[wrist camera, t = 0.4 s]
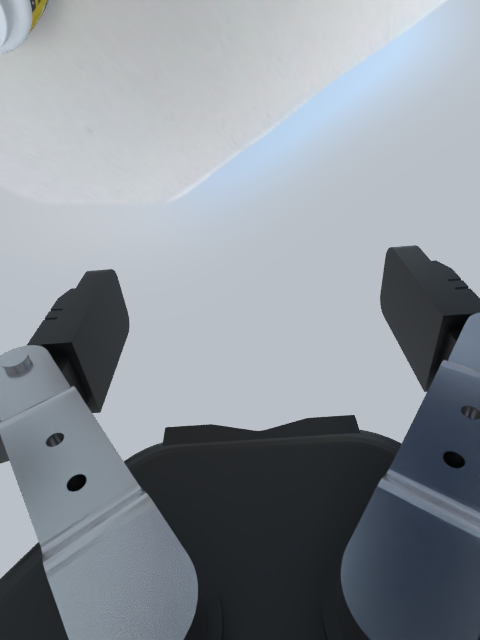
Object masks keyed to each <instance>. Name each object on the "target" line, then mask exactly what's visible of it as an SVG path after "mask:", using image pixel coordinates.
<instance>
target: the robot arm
mask: <svg viewBox="0 0 480 640" xmlns="http://www.w3.org/2000/svg"><path fill="white" fill-rule="evenodd" d="M380 301H381V309H382V313H383V315H384V317H385V319H386V321H387V323H388V325H389V327H390V328H391V330H392V332H393V334H394V336H395V338H396V340H397V341H398V343H399V345H400V347H401V349H402V351H403V353H404V355H405V356H406V358H407V360H408V362H409V363H410V366H411V368H412V369H413V371H414V373H415V375H416V377H417V379H418V381H419V382H420V384H421V386H422V388H423V390H424V392H427V393H426V396H425V398H424V400H423V402H422V404H421V406H420V408H419V410H418V412H417V414H416V416H415V418H414V420H413V422H412V424H411V426H410V428H409V430H408V432H407V434H406V436H405V438H404V440H403V442H402V444H401V443H399V442H397V441H395V440H393V439H390V438H388V437H385V436H382V435H379V434H376V433H373V432H368V431H363V430H359V428H358V424H357V421H356V418H355V416H354V415H348V416H333V417H317V418H306V419H303V420H299V421H296V422H292V423H289V424H286V425H282V426H278V427H274V428H271V429H268V430H263V431H252V430H246V429H238V428H232V427H225V426H218V425H212V424H211V425H197V426H180V427H167V428H165V434H164V440H163V443H160V444H156V445H154V446H151V447H149V448H146V449H144V450H143V451H140V452H139V453H137V454H135V455H133V456H132V457H130V458H129V459H127V460H125V461H124V462H123V460H122V459H121V457H120V455H119V454H118V452H117V451H116V449H115V448H114V446H113V445H112V443H111V442H110V440H109V439H108V437H107V436H106V434H105V432H104V431H103V429H102V428H101V426H100V425H99V423H98V422H97V420H96V419H95V417H94V415H93V414H92V413H99V412H101V409H102V406H103V403H104V401H105V398H106V395H107V392H108V389H109V386H110V383H111V381H112V378H113V375H114V372H115V369H116V367H117V364H118V361H119V358H120V355H121V352H122V349H123V346H124V344H125V341H126V338H127V335H128V332H129V316H128V312H127V308H126V305H125V301H124V298H123V295H122V291H121V288H120V284H119V281H118V277H117V275H116V273H115V271H114V270H112V269H109V270H98V271H87V272H86V273H85V275H84V276H83V278H82V279H81V281H80V282H79V284H78V286H77V287H76V288H75V289H70V290H69V291H67V292H66V293H65V294H63V295H62V296H61V297H59V298H58V299H57V301H56V302H55V304H54V305H53V307H52V308H51V311H50V312H49V313H48V315H47V316H46V317H45V320H43V322H42V323H41V325H40V326H39V328H38V329H37V331H36V332H35V334H34V335H33V337H32V338H31V340H30V341H29V343H28V344H27V346H23V347H18V348H15V349H12V350H10V351H8V352H5V353H4V354H2V355H0V463H3V462H6V461H9V460H10V463H11V466H12V468H13V471H14V474H15V476H16V480H17V482H18V485H19V488H20V491H21V493H22V496H23V499H24V502H25V505H26V507H27V510H28V513H29V516H30V519H31V521H32V524H33V527H34V529H35V532H36V535H37V538H38V541H39V542H38V543H37V544H36V545H35V546H34V547H33V548H32V549H31V550H30V551H29V552H28V553H27V554H26V555H25V556H24V557H23V558H22V559H20V561H18V562H17V563H16V564H15V565H14V566H13V567H12V568H11V569H10V570H9V571H8V572H7V573H6V574H5V575H4V576H3V577H2V578H1V579H0V640H480V298H478V296H477V295H476V294H475V293H474V292H473V291H472V290H471V289H468V286H467V285H466V283H465V282H464V281H461V278H460V277H459V276H458V275H457V274H456V273H455V272H454V271H453V270H452V269H451V268H449V267H448V266H445V265H444V264H442V263H440V262H437V261H431V260H430V259H429V258H428V257H427V256H426V255H425V254H424V253H423V251H422V250H421V249H420V248H419V247H418V246H403V247H391V248H389V249H388V251H387V253H386V258H385V265H384V273H383V280H382V288H381V295H380Z"/></svg>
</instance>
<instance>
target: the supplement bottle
mask: <svg viewBox="0 0 480 640" xmlns="http://www.w3.org/2000/svg"><path fill="white" fill-rule="evenodd" d="M47 1H48V0H0V53H5V52H9V51H12V50H14V49H15V48H17V47H18V46H19V45H21V44H22V42H23V41H24V40H25V39H26V38H27V36H28V35H29V33H30V32H31V30H32V29H33V27H34V26H35V24H36V23H37V21H38V20H39V18H40V17H41V15H42V14H43V12H44V10H45V8H46V5H47Z"/></svg>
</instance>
